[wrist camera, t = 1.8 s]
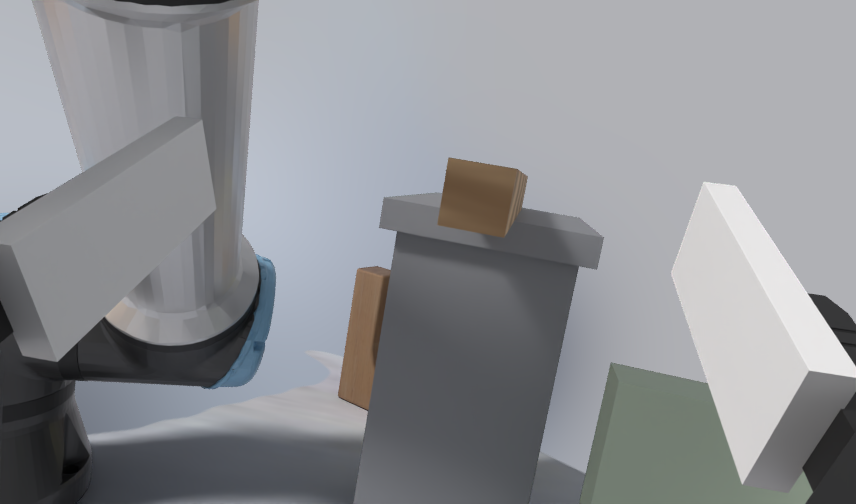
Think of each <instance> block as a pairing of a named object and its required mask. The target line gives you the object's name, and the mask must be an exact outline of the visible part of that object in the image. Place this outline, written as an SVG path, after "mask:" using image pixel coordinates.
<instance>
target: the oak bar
mask: <svg viewBox="0 0 856 504" xmlns="http://www.w3.org/2000/svg"><path fill="white" fill-rule="evenodd" d="M526 183H527V176H526V175H525V174H523V173H522V172H521V171H519V170H518V169H514V168H508V167H502V166H496V165H490V164H484V163H478V162H472V161H466V160H461V159H454V158H449V159H448V164H447V170H446V176H445V182H444V188H443V193H442V199H441V205H440V211H439V217H438V223H437V225H439V226H444V227H449V228H455V229H460V230H465V231H471V232H476V233H481V234H487V235H492V236H497V237H503V238H504V237H505V235H506V234H507V232H508V230H509V229H510V227H511V226H512V224H513V222H514V221H515V219H516V217H517V216H518V214H519V212H520V211H521V209H522V203H523V198H524V193H525V187H526Z"/></svg>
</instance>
